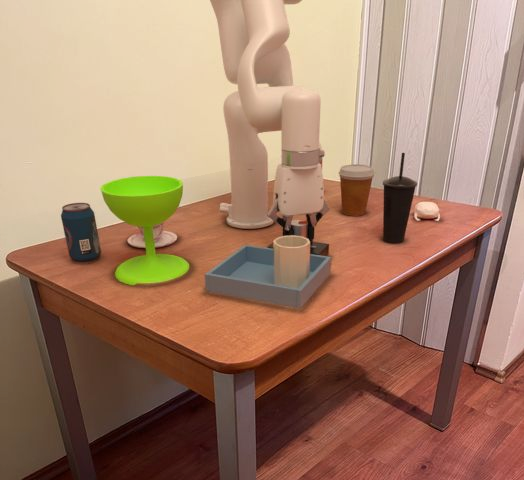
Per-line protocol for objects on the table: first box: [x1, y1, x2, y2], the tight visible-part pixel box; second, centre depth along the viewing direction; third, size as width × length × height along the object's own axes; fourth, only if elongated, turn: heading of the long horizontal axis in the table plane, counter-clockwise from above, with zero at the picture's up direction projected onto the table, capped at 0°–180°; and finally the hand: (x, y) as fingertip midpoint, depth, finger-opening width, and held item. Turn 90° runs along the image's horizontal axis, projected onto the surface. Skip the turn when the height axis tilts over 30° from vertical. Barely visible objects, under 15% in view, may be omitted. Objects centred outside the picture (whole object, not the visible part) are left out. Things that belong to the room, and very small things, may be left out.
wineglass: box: [99, 175, 190, 286], centre depth 110 cm, size 16×16×18 cm
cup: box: [272, 235, 310, 288], centre depth 104 cm, size 7×7×9 cm
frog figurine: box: [413, 201, 441, 222], centre depth 143 cm, size 8×7×4 cm
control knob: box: [291, 219, 308, 239], centre depth 117 cm, size 4×4×5 cm
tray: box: [204, 244, 332, 309], centre depth 107 cm, size 20×18×4 cm
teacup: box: [126, 222, 178, 249], centre depth 130 cm, size 12×12×6 cm
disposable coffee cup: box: [338, 163, 376, 217], centre depth 145 cm, size 10×10×12 cm
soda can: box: [60, 202, 102, 265], centre depth 118 cm, size 7×7×12 cm
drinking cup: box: [382, 152, 418, 244], centre depth 124 cm, size 8×8×20 cm
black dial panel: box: [266, 241, 330, 256], centre depth 119 cm, size 12×8×3 cm
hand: (298, 243), depth 118 cm, fingers closed on control knob, 4 cm apart
